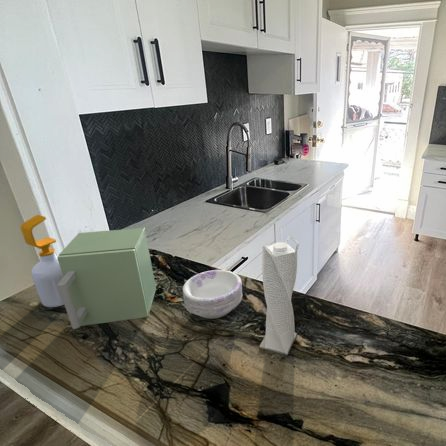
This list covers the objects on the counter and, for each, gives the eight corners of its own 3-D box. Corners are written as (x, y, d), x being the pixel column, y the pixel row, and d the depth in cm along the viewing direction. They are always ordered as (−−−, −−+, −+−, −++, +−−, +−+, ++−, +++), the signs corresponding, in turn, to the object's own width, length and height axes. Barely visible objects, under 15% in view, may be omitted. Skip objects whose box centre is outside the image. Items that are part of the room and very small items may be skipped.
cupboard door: (143, 332, 77) (127, 262, 69) (69, 343, 73) (44, 270, 66) (148, 314, 83) (134, 248, 75) (80, 323, 79) (58, 255, 72)
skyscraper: (302, 335, 77) (305, 232, 66) (291, 360, 70) (293, 249, 59) (270, 328, 79) (268, 227, 68) (257, 351, 72) (252, 243, 61)
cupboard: (149, 314, 83) (135, 247, 75) (81, 323, 80) (58, 254, 72) (156, 288, 94) (144, 227, 86) (96, 295, 90) (78, 232, 82)
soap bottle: (88, 293, 91) (65, 215, 81) (54, 311, 84) (24, 227, 74) (68, 285, 95) (44, 209, 85) (35, 302, 87) (3, 221, 77)
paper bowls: (213, 285, 96) (210, 263, 93) (253, 301, 89) (252, 277, 86) (173, 314, 83) (169, 289, 80) (217, 334, 77) (214, 308, 74)
